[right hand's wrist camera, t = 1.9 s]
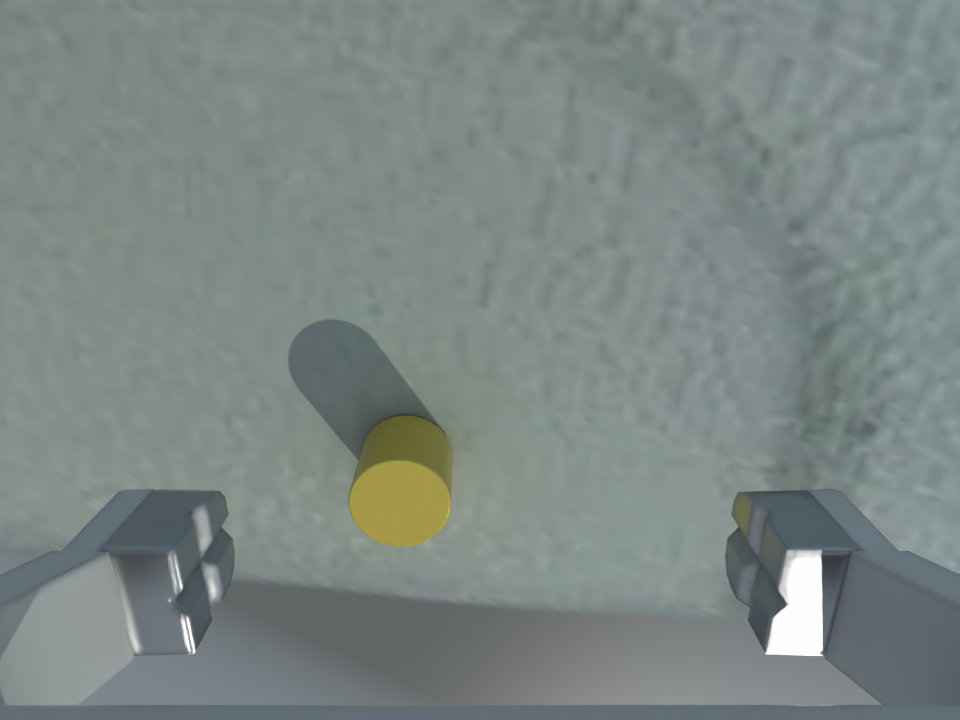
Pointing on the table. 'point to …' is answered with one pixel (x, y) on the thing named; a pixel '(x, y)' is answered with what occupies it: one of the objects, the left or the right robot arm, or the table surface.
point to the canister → (402, 482)
